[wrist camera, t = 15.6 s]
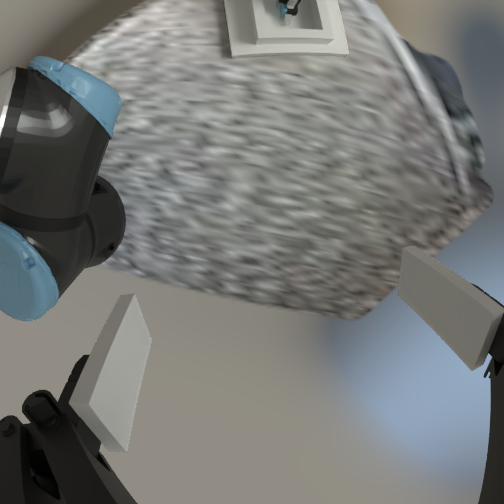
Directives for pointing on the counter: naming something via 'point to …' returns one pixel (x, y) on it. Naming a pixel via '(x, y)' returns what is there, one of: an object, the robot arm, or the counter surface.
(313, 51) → the holder
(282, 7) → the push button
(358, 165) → the counter surface
